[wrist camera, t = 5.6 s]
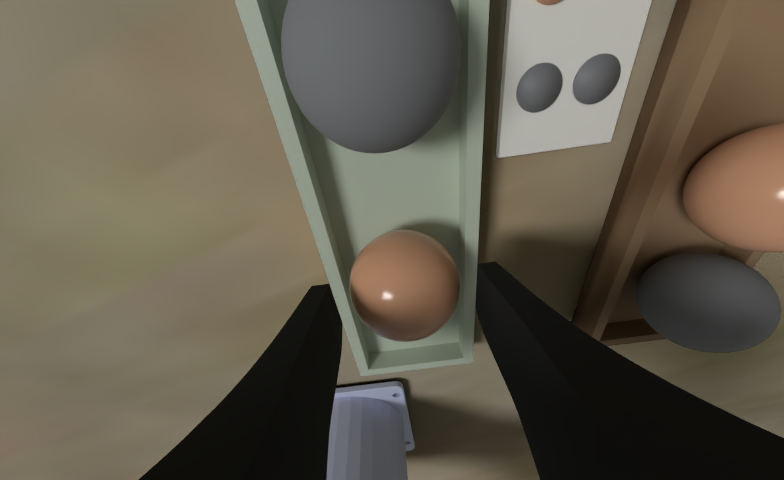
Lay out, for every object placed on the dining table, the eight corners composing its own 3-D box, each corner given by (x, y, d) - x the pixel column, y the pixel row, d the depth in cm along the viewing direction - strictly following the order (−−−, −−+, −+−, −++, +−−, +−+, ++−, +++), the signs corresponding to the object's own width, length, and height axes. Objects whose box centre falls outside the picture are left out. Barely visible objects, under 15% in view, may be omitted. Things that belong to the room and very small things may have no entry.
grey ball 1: (443, 123, 9) (481, 163, 6) (323, 141, 9) (295, 189, 6) (439, -44, 7) (494, -128, 4) (283, -18, 7) (204, -79, 4)
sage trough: (553, 327, 16) (567, 350, 15) (361, 351, 17) (360, 376, 15) (700, -206, 6) (781, -270, 5) (217, -121, 7) (180, -162, 5)
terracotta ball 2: (736, 208, 12) (879, 269, 8) (638, 221, 12) (740, 287, 9) (800, 102, 10) (1028, 128, 6) (678, 119, 10) (839, 155, 6)
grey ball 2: (683, 295, 15) (775, 367, 11) (604, 305, 15) (672, 379, 11) (723, 228, 12) (853, 293, 9) (630, 241, 12) (723, 310, 9)
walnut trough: (678, 312, 16) (704, 334, 15) (570, 325, 16) (587, 348, 15) (1034, -264, 6) (1205, -347, 5) (747, -214, 6) (839, -280, 5)
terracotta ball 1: (447, 281, 13) (472, 358, 10) (362, 292, 13) (358, 372, 10) (445, 203, 11) (476, 269, 8) (343, 218, 11) (330, 288, 8)
